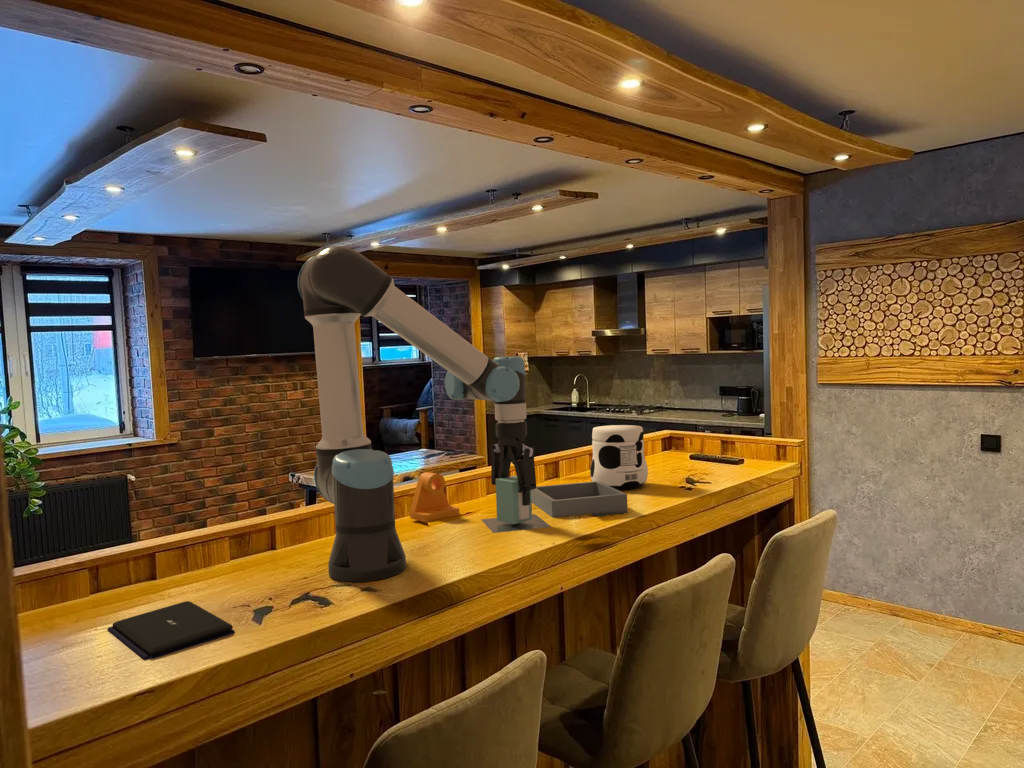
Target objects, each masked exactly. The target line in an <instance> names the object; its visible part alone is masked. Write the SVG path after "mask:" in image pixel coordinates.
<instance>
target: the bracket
mask: <svg viewBox="0 0 1024 768" xmlns="http://www.w3.org/2000/svg"><path fill="white" fill-rule="evenodd" d="M420 474H421V475H419V477H418V480H417V483H416V487H415V491H414V495H413V500H412V502H411V503H412V504H411V507H410V510H409V516H410V517H409V518H410V520H411V519H412V520H416V521H419V522H422V523H428V522H432V521H436V520H440V519H444V518H449V517H454V516H460V507H459V506H454V505H450V503H449V500H448V497H447V495H446V493H445V487H446V479H445V478H444V476H443V475H442V474H440V473H435V472H430V471H425V472H422V473H420Z"/></svg>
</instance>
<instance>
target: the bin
mask: <svg viewBox="0 0 1024 768" xmlns="http://www.w3.org/2000/svg"><path fill="white" fill-rule="evenodd" d="M531 500H532V505H534V506H536V507H537V508H538V509H540V510H541V511H542V512H544V513H545V514H547V515H548V516H550V517H551V518H560V517H561V518H562V517H571V516H580V515H581V516H582V515H588V514H589V515H592V516H593V517H595V516H600V517H607V515H610V516H616V515H615V514H620V515H625V514H624V513H629V512H628V494H627V493H625V492H623V491H620V489H615V488H612V487H610V486H608V485H606V484H604V483H602V482H599V481H594V482H592V481H586V482H585V481H583V482H573V483H572V482H571V483H564V484H561V483H560V484H550V485H538V486H537V485H536V489H533V490H531Z"/></svg>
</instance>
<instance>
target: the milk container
mask: <svg viewBox="0 0 1024 768" xmlns="http://www.w3.org/2000/svg"><path fill="white" fill-rule="evenodd" d="M591 438H592V440H591V441H592V442H591V446H592V458H591V459H592V460H591V464H590V468H589V471H590V478H591V482H594V481H599V482H602V483H604V484H606V485H608V486H610V487H612V488H615V489H617V490H620V489H621V490H624V489H632V488H633V489H634V488H638V487H641V486H643V485H644V484H645V483H646V482H647V480H648V475H649V469H648V468H649V467H648V464H647V461H646V457H645V440H644V439H645V438H644V428H643V426H640V425H633V424H630V425H629V424H616V425H615V424H611V425H602V426H595V427H593V428H592V433H591Z"/></svg>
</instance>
